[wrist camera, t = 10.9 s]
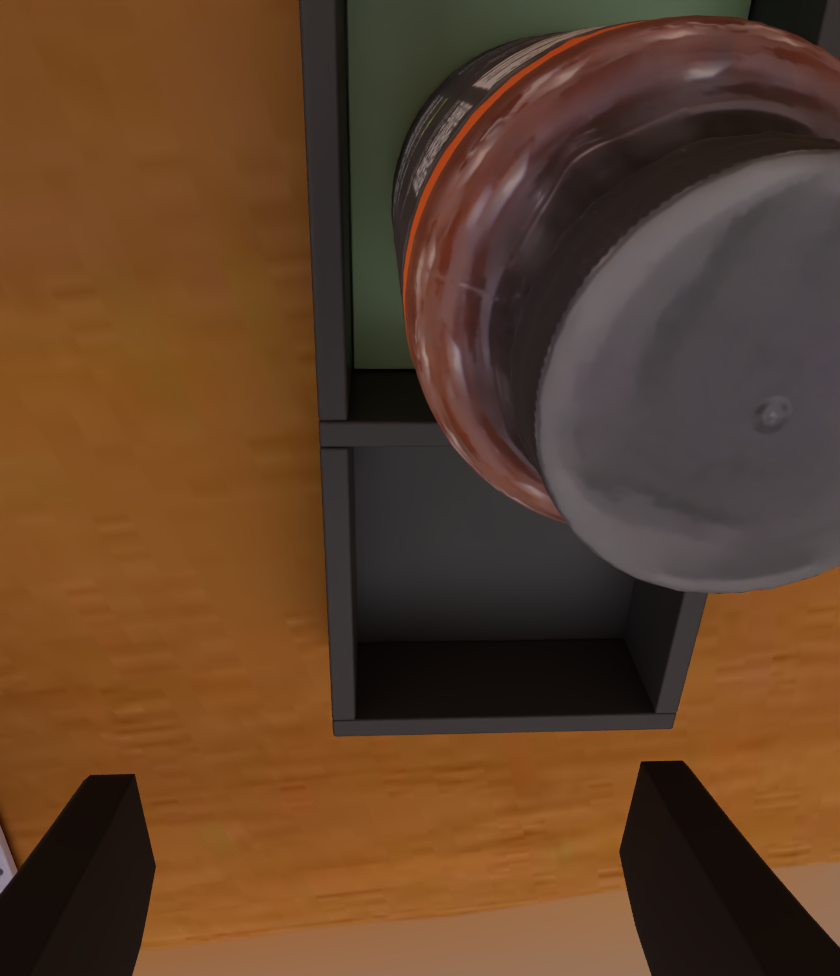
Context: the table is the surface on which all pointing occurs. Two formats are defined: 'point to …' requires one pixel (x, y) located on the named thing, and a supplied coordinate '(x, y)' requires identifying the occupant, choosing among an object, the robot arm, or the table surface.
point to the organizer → (423, 445)
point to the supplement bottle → (638, 290)
